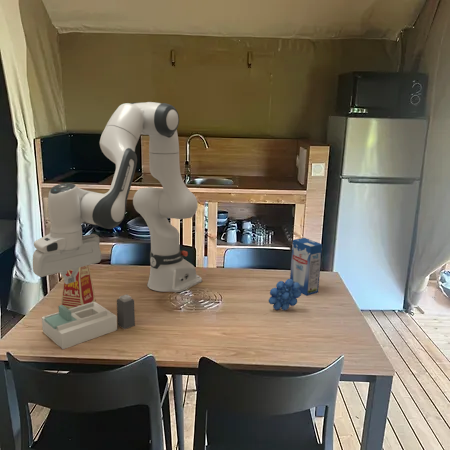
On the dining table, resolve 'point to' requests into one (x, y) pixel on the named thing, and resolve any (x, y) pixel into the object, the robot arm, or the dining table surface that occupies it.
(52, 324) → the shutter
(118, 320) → the plug
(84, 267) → the milk carton
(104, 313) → the socket
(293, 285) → the grapes
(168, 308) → the dining table surface
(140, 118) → the robot arm
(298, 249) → the milk carton
